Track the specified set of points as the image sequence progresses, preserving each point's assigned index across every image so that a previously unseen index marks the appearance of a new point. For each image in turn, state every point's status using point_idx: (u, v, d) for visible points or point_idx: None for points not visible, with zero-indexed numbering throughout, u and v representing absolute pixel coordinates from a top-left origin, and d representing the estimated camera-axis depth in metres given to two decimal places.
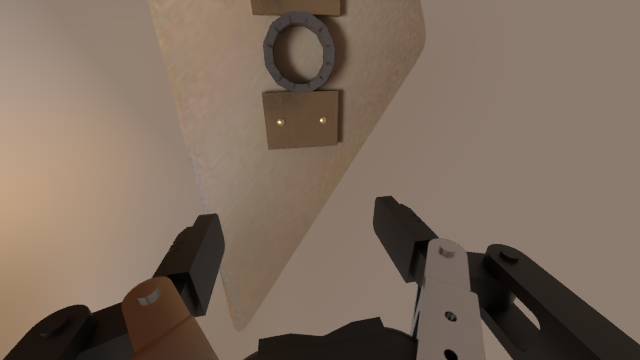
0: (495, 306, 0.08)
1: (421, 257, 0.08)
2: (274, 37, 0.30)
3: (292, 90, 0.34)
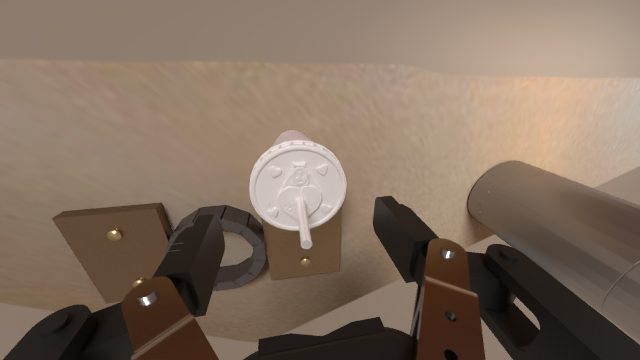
0: (495, 306, 0.08)
1: (421, 257, 0.08)
2: (231, 230, 0.23)
3: None
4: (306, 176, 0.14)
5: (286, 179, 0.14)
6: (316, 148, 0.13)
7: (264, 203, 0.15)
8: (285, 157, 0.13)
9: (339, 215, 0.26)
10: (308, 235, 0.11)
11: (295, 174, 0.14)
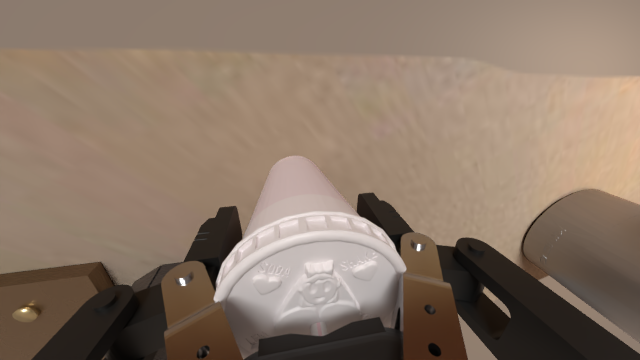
0: (464, 296, 0.08)
1: None
2: None
3: None
4: (333, 288, 0.07)
5: (290, 295, 0.07)
6: (357, 235, 0.06)
7: (245, 336, 0.07)
8: (289, 256, 0.06)
9: None
10: None
11: (310, 288, 0.06)
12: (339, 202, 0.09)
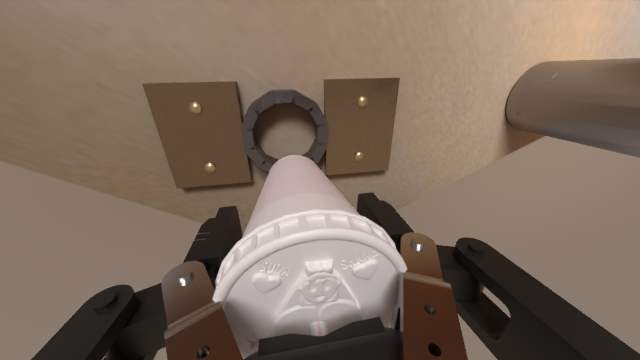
0: (464, 296, 0.08)
1: None
2: (302, 106, 0.25)
3: (243, 127, 0.25)
4: (333, 287, 0.07)
5: (290, 293, 0.07)
6: (357, 233, 0.06)
7: (245, 335, 0.07)
8: (288, 254, 0.06)
9: (394, 105, 0.28)
10: None
11: (310, 286, 0.06)
12: (339, 201, 0.09)
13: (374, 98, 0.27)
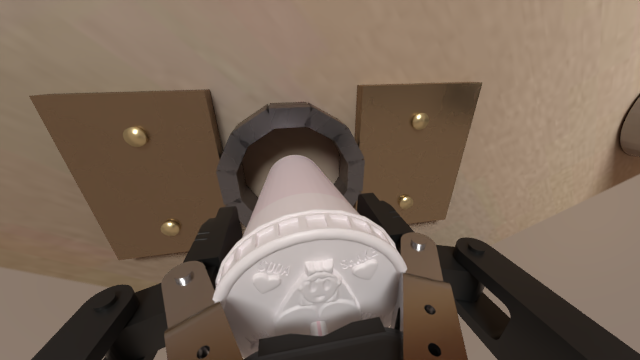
0: (464, 296, 0.08)
1: None
2: (324, 132, 0.15)
3: (221, 169, 0.14)
4: (333, 287, 0.07)
5: (290, 293, 0.07)
6: (357, 233, 0.06)
7: (244, 335, 0.07)
8: (288, 254, 0.06)
9: (468, 126, 0.18)
10: None
11: (310, 286, 0.06)
12: (339, 201, 0.09)
13: (437, 116, 0.17)
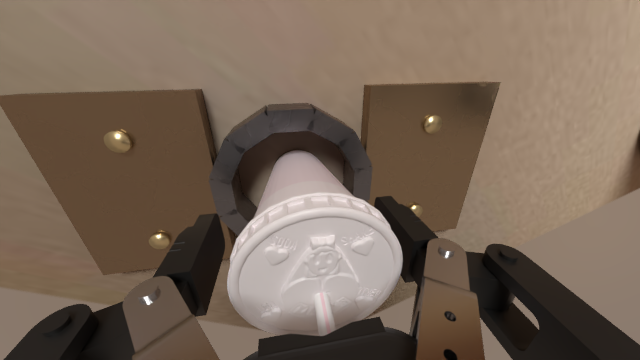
0: (494, 305, 0.08)
1: (420, 256, 0.08)
2: (328, 137, 0.13)
3: (214, 177, 0.13)
4: (335, 260, 0.07)
5: (297, 266, 0.07)
6: (356, 212, 0.07)
7: (256, 304, 0.08)
8: (296, 230, 0.07)
9: (483, 129, 0.16)
10: None
11: (315, 259, 0.07)
12: (340, 188, 0.09)
13: (451, 118, 0.15)
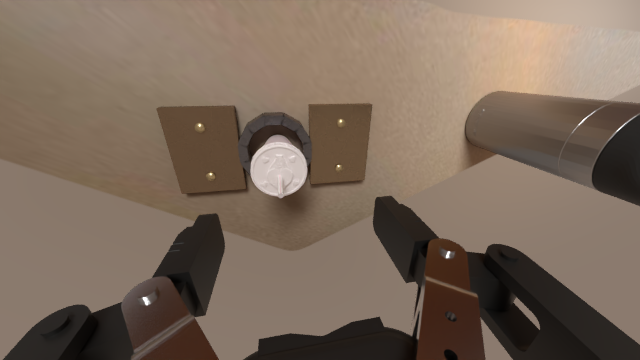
0: (495, 305, 0.08)
1: (421, 257, 0.08)
2: (290, 127, 0.30)
3: (239, 144, 0.30)
4: (283, 162, 0.24)
5: (271, 164, 0.24)
6: (288, 147, 0.24)
7: (258, 178, 0.25)
8: (271, 151, 0.24)
9: (368, 126, 0.34)
10: (281, 191, 0.22)
11: (277, 161, 0.24)
12: None
13: (350, 120, 0.33)
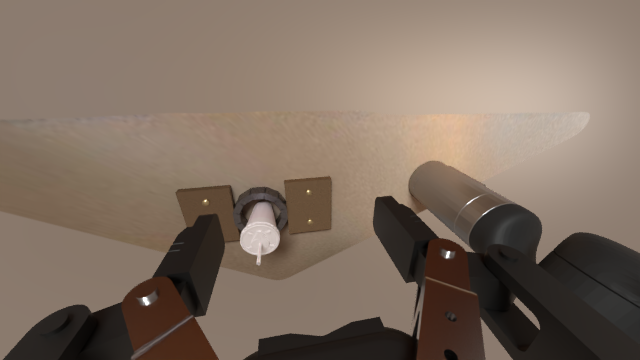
0: (495, 306, 0.08)
1: (421, 257, 0.08)
2: (270, 200, 0.42)
3: (234, 212, 0.42)
4: (262, 235, 0.36)
5: (254, 236, 0.36)
6: (265, 225, 0.36)
7: (246, 245, 0.37)
8: (253, 229, 0.36)
9: (330, 193, 0.45)
10: (259, 260, 0.33)
11: (257, 235, 0.36)
12: (267, 219, 0.38)
13: (316, 190, 0.44)
